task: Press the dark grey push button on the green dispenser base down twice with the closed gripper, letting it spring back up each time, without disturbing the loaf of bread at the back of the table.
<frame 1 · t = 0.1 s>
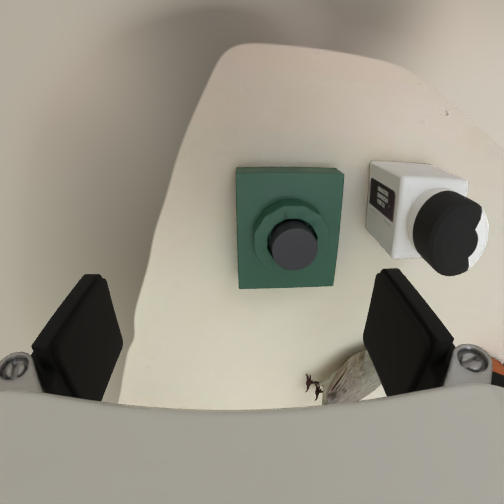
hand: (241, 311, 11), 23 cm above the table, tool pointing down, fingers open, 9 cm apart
dark grey push button: (293, 245, 28), point 6 cm above the table, slide at 0.1 cm
decorative bird: (354, 356, 42), on the table
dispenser: (285, 223, 33), on the table
container: (397, 195, 33), on the table
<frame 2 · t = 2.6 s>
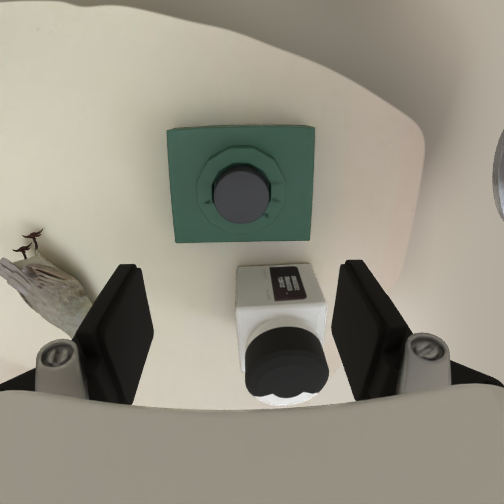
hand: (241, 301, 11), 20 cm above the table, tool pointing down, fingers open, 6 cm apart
dark grey push button: (241, 194, 24), point 6 cm above the table, slide at 0.1 cm
decorative bird: (73, 282, 33), on the table
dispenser: (241, 178, 29), on the table
container: (274, 294, 35), on the table
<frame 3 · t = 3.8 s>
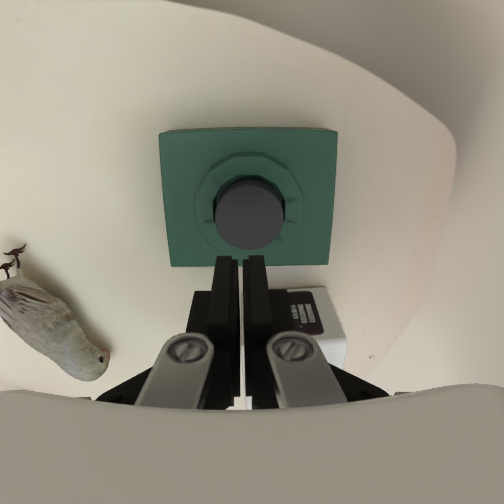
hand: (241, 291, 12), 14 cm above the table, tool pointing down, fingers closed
dark grey push button: (249, 213, 20), point 6 cm above the table, slide at 0.1 cm
decorative bird: (61, 303, 29), on the table
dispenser: (248, 190, 25), on the table
container: (284, 320, 30), on the table
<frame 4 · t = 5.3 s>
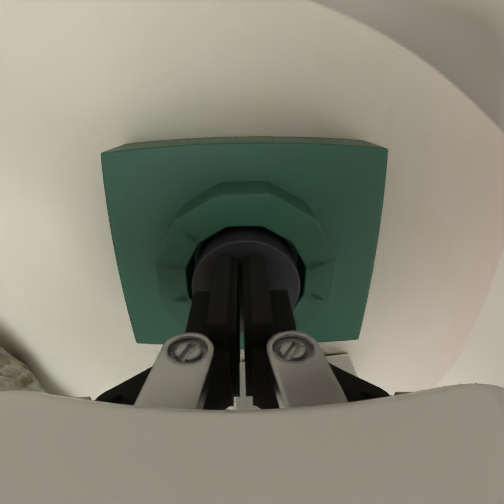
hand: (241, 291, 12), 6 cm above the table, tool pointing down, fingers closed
dark grey push button: (245, 277, 13), point 5 cm above the table, slide at -1.0 cm, touching gripper
decorative bird: (19, 357, 21), on the table
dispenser: (245, 233, 17), on the table
container: (292, 390, 22), on the table
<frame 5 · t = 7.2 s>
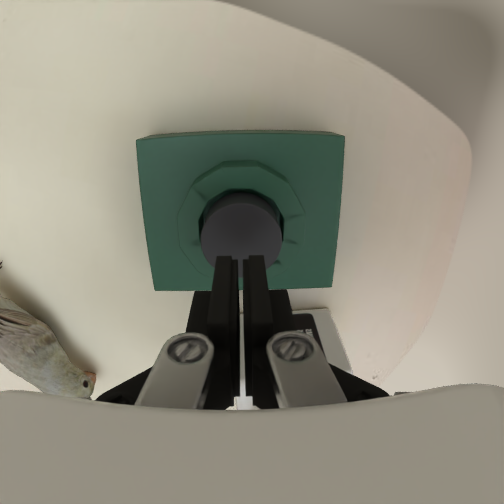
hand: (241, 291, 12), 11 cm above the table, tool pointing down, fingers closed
dark grey push button: (241, 234, 17), point 6 cm above the table, slide at 0.1 cm
decorative bird: (42, 322, 26), on the table
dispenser: (241, 203, 22), on the table
container: (282, 343, 27), on the table
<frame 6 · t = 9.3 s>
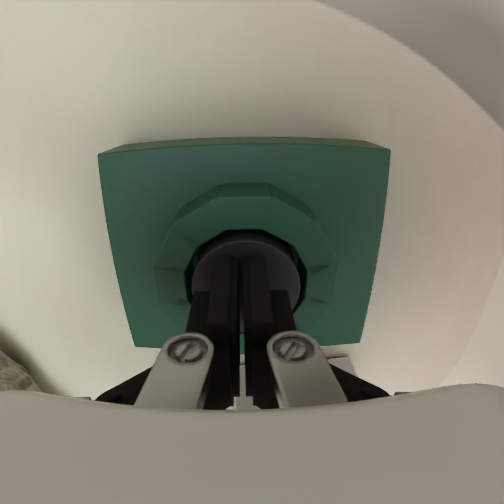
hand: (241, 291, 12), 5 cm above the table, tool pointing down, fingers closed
dark grey push button: (245, 277, 13), point 4 cm above the table, slide at -1.3 cm, touching gripper
decorative bird: (18, 360, 21), on the table
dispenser: (245, 235, 16), on the table
container: (292, 393, 22), on the table
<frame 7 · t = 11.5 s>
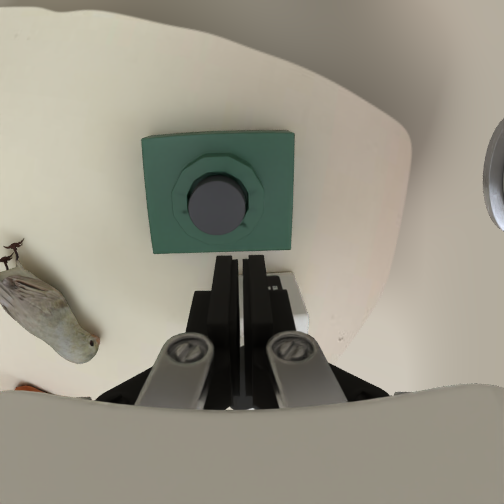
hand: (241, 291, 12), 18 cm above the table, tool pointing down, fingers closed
dark grey push button: (217, 204, 23), point 6 cm above the table, slide at 0.1 cm
decorative bird: (55, 292, 32), on the table
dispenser: (220, 186, 28), on the table
container: (256, 304, 34), on the table
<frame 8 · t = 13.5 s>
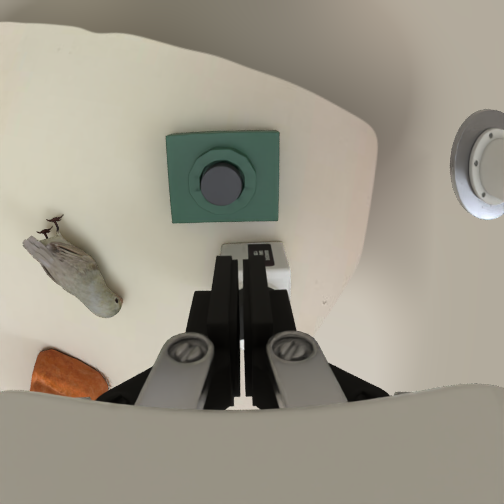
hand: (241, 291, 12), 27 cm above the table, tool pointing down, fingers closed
bread: (69, 398, 55), on the table
dark grey push button: (221, 183, 32), point 6 cm above the table, slide at 0.1 cm
decorative bird: (87, 260, 41), on the table
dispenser: (224, 173, 37), on the table
container: (253, 268, 42), on the table
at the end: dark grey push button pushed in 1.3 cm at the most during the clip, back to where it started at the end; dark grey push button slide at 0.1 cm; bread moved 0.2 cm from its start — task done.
